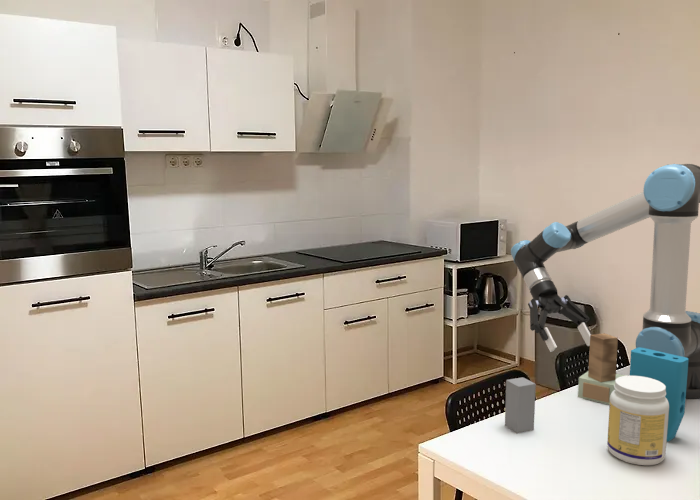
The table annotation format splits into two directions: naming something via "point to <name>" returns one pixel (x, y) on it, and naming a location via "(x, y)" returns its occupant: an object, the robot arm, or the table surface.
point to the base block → (595, 389)
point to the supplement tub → (638, 420)
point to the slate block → (520, 405)
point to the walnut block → (603, 357)
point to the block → (664, 380)
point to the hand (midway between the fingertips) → (572, 346)
